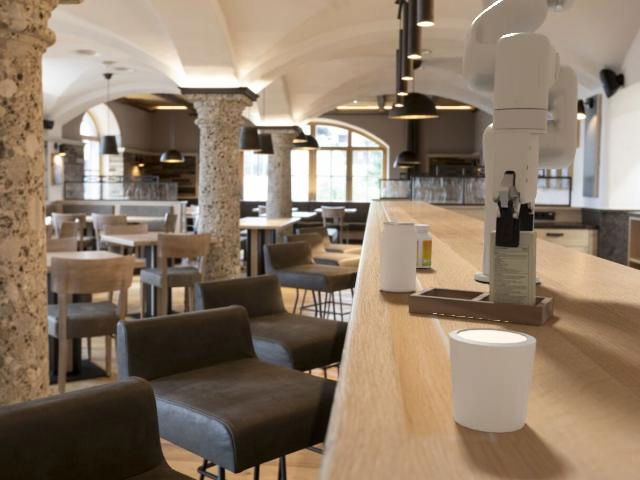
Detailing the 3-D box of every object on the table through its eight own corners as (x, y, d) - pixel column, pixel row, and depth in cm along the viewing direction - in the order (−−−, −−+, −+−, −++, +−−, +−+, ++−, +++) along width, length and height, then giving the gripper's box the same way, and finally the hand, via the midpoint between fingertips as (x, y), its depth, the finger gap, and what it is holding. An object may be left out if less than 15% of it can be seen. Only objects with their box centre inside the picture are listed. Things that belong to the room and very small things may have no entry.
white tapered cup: (436, 407, 60) (439, 326, 60) (514, 406, 61) (518, 326, 60) (458, 436, 54) (462, 345, 53) (546, 434, 54) (550, 345, 54)
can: (414, 294, 122) (416, 224, 121) (376, 292, 123) (378, 223, 122) (416, 288, 128) (418, 222, 127) (381, 287, 129) (382, 221, 128)
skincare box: (535, 314, 103) (539, 230, 102) (532, 319, 99) (536, 232, 98) (490, 310, 106) (494, 229, 105) (486, 315, 102) (489, 230, 101)
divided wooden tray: (429, 302, 113) (430, 286, 113) (553, 314, 105) (553, 297, 105) (408, 312, 105) (409, 295, 104) (541, 325, 96) (542, 307, 96)
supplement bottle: (430, 266, 163) (431, 224, 162) (431, 269, 157) (433, 225, 156) (406, 265, 163) (407, 223, 162) (407, 268, 158) (408, 225, 157)
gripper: (506, 126, 110) (502, 236, 112) (477, 121, 95) (473, 248, 97) (556, 126, 107) (551, 239, 109) (535, 120, 91) (529, 251, 93)
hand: (514, 243), depth 103 cm, fingers open, 9 cm apart
